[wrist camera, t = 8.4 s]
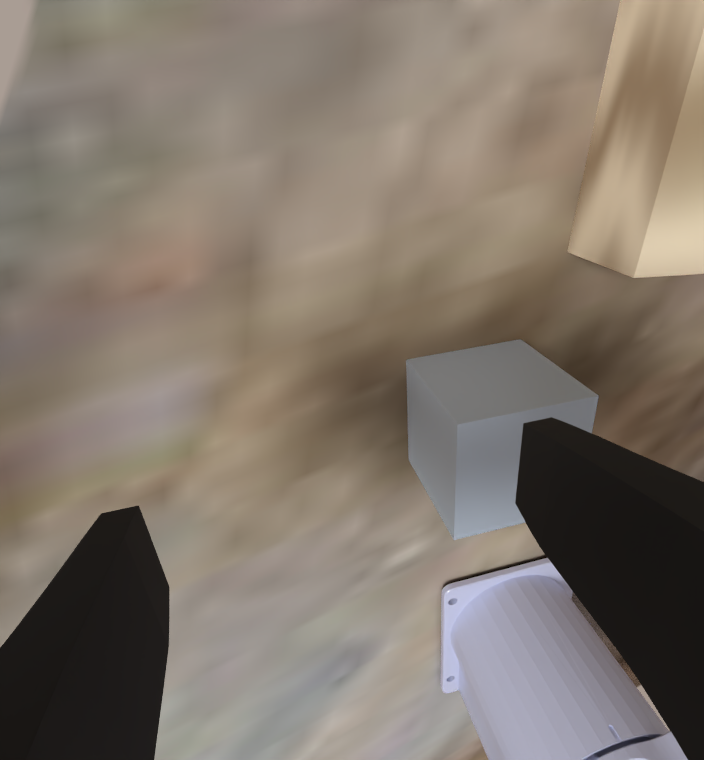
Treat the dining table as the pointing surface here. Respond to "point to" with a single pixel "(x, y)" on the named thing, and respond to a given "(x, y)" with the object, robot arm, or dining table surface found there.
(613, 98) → the birch base block
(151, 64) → the dining table surface
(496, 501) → the dusty blue block
